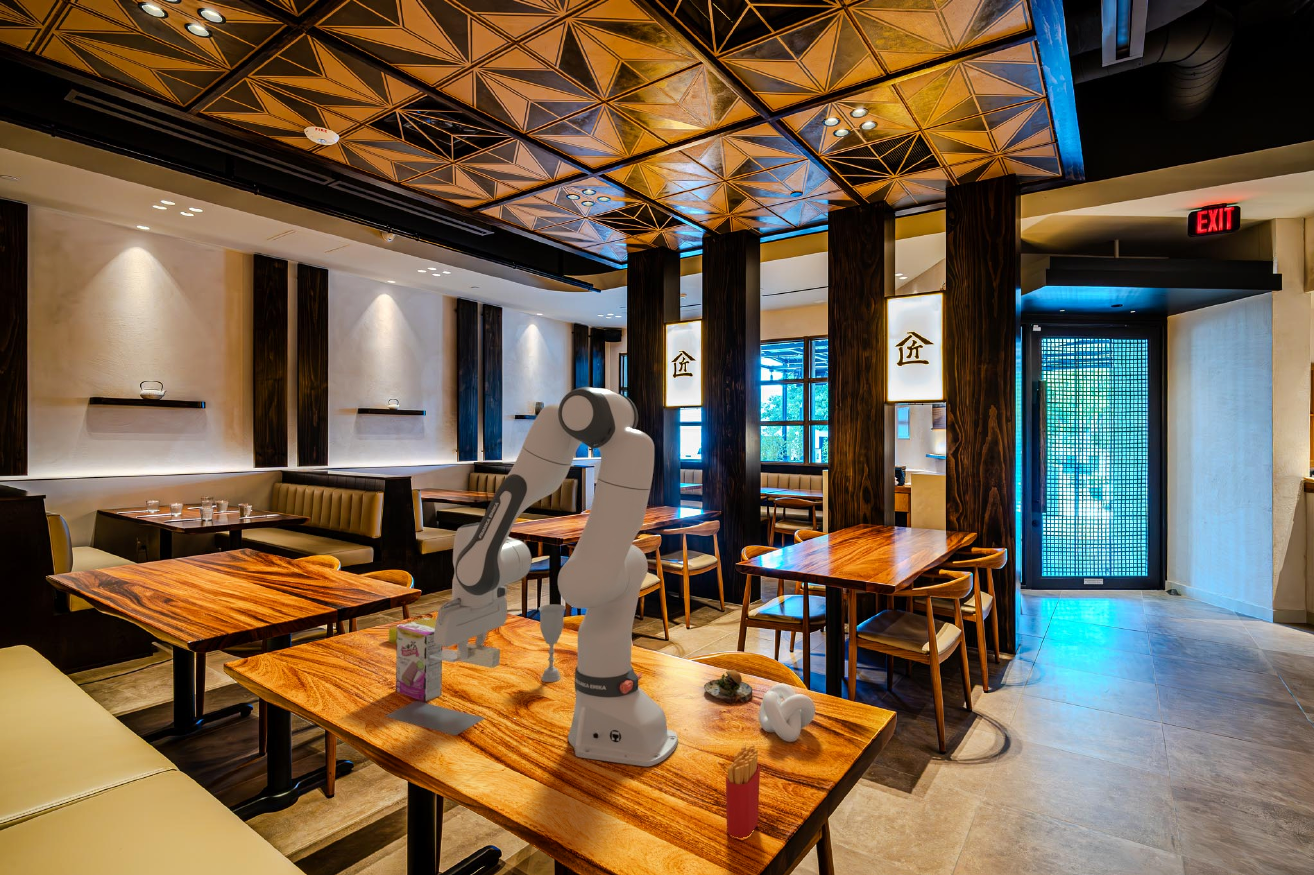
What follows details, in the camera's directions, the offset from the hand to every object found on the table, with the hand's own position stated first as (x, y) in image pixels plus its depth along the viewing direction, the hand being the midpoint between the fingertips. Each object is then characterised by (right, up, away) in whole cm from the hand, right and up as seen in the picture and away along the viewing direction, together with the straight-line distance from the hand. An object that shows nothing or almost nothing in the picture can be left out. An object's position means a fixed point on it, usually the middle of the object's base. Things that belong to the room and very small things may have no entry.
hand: (471, 655), depth 140 cm
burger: (+59, -14, +11) cm, 62 cm away
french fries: (+55, -13, -42) cm, 71 cm away
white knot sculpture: (+68, -13, -10) cm, 70 cm away
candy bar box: (-15, -12, +7) cm, 20 cm away
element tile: (-30, -13, +50) cm, 60 cm away
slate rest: (-6, -12, -6) cm, 15 cm away
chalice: (+15, -13, +20) cm, 28 cm away
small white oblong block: (-1, -1, +1) cm, 2 cm away
